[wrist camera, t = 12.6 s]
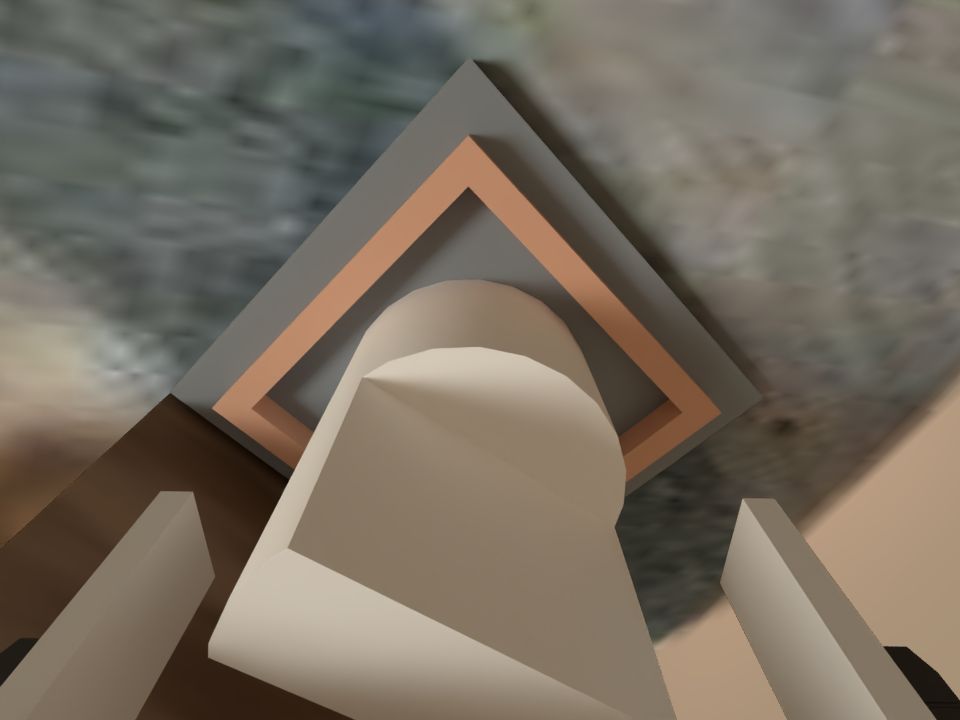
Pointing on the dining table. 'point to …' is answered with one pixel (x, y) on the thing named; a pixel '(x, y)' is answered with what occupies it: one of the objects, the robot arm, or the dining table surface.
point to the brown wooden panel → (108, 517)
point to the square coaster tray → (465, 256)
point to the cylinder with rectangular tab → (453, 531)
